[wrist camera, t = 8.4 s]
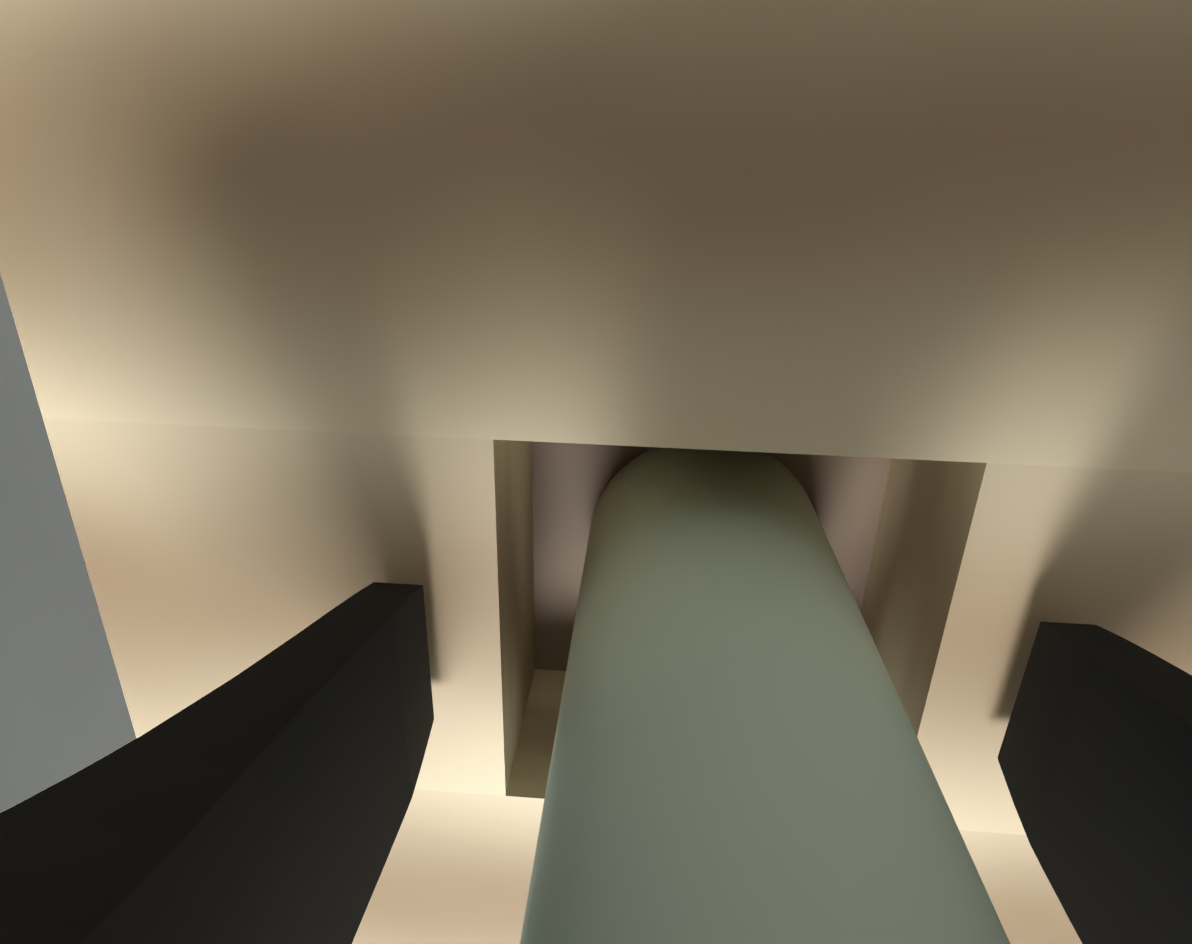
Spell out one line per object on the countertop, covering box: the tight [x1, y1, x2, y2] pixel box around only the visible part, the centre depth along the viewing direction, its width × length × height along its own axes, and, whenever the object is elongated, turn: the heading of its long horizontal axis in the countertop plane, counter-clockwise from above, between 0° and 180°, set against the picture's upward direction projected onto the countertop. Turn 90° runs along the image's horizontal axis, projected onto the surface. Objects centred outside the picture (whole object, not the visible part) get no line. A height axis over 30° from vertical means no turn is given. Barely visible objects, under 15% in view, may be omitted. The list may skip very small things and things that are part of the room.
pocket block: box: [0, 0, 1192, 944], centre depth 11 cm, size 16×16×3 cm
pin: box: [520, 447, 1010, 944], centre depth 8 cm, size 4×4×8 cm
